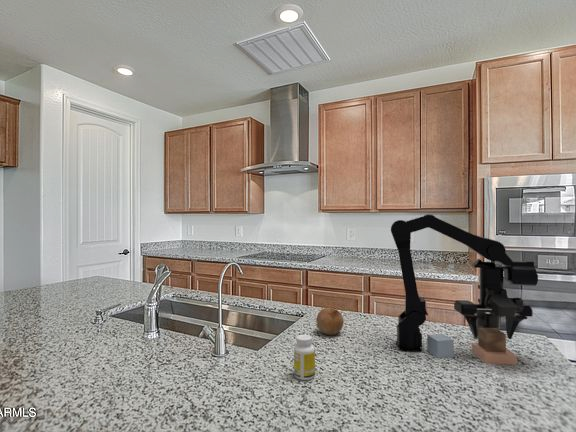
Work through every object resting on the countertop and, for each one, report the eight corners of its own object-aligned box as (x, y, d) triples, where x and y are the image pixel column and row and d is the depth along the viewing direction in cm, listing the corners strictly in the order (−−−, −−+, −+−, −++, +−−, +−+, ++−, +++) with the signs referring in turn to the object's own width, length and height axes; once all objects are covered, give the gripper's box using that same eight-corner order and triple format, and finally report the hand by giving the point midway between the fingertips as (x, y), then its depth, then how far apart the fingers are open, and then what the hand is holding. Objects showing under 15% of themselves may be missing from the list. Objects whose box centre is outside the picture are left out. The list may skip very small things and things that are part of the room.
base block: (485, 364, 87) (485, 353, 87) (471, 352, 95) (471, 342, 95) (516, 366, 86) (516, 355, 86) (500, 353, 94) (500, 343, 94)
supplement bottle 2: (504, 343, 101) (503, 305, 101) (480, 341, 102) (480, 304, 103) (494, 335, 108) (494, 300, 108) (472, 334, 109) (472, 299, 109)
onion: (339, 344, 108) (348, 322, 105) (312, 337, 109) (320, 314, 105) (338, 325, 117) (346, 304, 113) (313, 319, 117) (321, 297, 114)
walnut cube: (486, 351, 89) (486, 333, 89) (478, 344, 94) (478, 327, 94) (506, 352, 88) (505, 334, 88) (496, 345, 93) (496, 328, 93)
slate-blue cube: (437, 358, 91) (437, 340, 91) (427, 351, 96) (427, 334, 96) (453, 357, 91) (453, 339, 91) (442, 350, 96) (442, 333, 96)
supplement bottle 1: (317, 372, 83) (317, 334, 83) (312, 382, 78) (311, 342, 78) (297, 369, 84) (297, 332, 85) (291, 379, 79) (290, 339, 79)
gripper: (470, 289, 84) (470, 348, 84) (546, 290, 82) (547, 351, 82) (453, 280, 95) (453, 333, 95) (519, 282, 93) (520, 335, 93)
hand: (492, 338), depth 91 cm, fingers open, 9 cm apart
